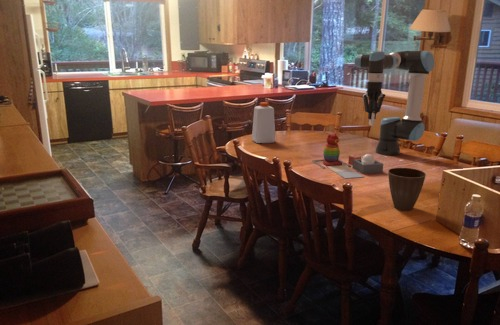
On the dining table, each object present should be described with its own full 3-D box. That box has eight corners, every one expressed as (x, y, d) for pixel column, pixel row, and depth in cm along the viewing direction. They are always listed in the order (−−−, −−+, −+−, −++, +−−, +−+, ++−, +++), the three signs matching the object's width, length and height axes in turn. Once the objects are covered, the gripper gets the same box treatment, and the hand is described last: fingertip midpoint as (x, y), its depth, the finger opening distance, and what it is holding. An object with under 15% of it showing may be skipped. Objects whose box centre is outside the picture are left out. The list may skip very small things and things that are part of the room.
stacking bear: (329, 167, 244) (331, 136, 239) (318, 162, 253) (320, 133, 248) (344, 164, 249) (346, 135, 244) (333, 160, 258) (334, 131, 253)
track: (338, 159, 261) (338, 158, 261) (369, 176, 226) (369, 176, 226) (311, 160, 257) (311, 160, 257) (339, 179, 222) (339, 178, 222)
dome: (369, 165, 242) (371, 152, 240) (376, 169, 236) (377, 155, 234) (358, 166, 241) (359, 152, 238) (364, 170, 234) (366, 156, 232)
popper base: (371, 166, 246) (372, 158, 244) (382, 172, 234) (383, 163, 233) (352, 168, 243) (353, 159, 241) (362, 174, 231) (363, 165, 230)
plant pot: (383, 211, 180) (387, 175, 175) (386, 199, 193) (389, 166, 189) (421, 216, 175) (426, 179, 170) (421, 204, 188) (425, 169, 184)
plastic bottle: (269, 138, 317) (270, 101, 310) (277, 142, 303) (278, 103, 296) (250, 139, 313) (250, 101, 305) (257, 144, 299) (257, 104, 291)
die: (354, 162, 254) (355, 153, 252) (360, 164, 250) (361, 155, 248) (348, 164, 251) (348, 154, 250) (354, 166, 247) (354, 156, 246)
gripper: (367, 82, 220) (363, 126, 227) (389, 81, 223) (385, 125, 230) (360, 80, 227) (357, 124, 234) (382, 80, 230) (378, 123, 237)
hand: (371, 125), depth 232 cm, fingers closed
